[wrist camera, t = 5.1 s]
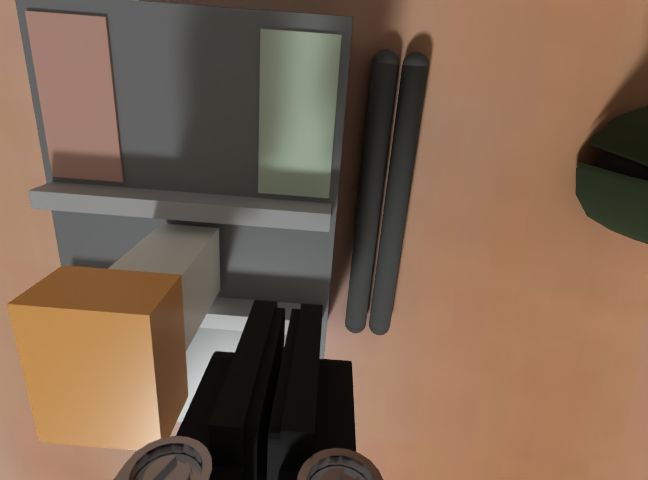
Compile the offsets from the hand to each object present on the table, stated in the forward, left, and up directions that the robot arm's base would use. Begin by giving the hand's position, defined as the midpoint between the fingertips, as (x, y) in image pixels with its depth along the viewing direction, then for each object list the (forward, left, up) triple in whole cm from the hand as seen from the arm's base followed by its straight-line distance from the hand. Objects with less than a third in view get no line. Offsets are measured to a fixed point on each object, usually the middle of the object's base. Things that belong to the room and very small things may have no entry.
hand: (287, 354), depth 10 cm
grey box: (0, -4, -13) cm, 14 cm away
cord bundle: (0, +4, -13) cm, 14 cm away
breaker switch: (0, -4, -5) cm, 6 cm away
